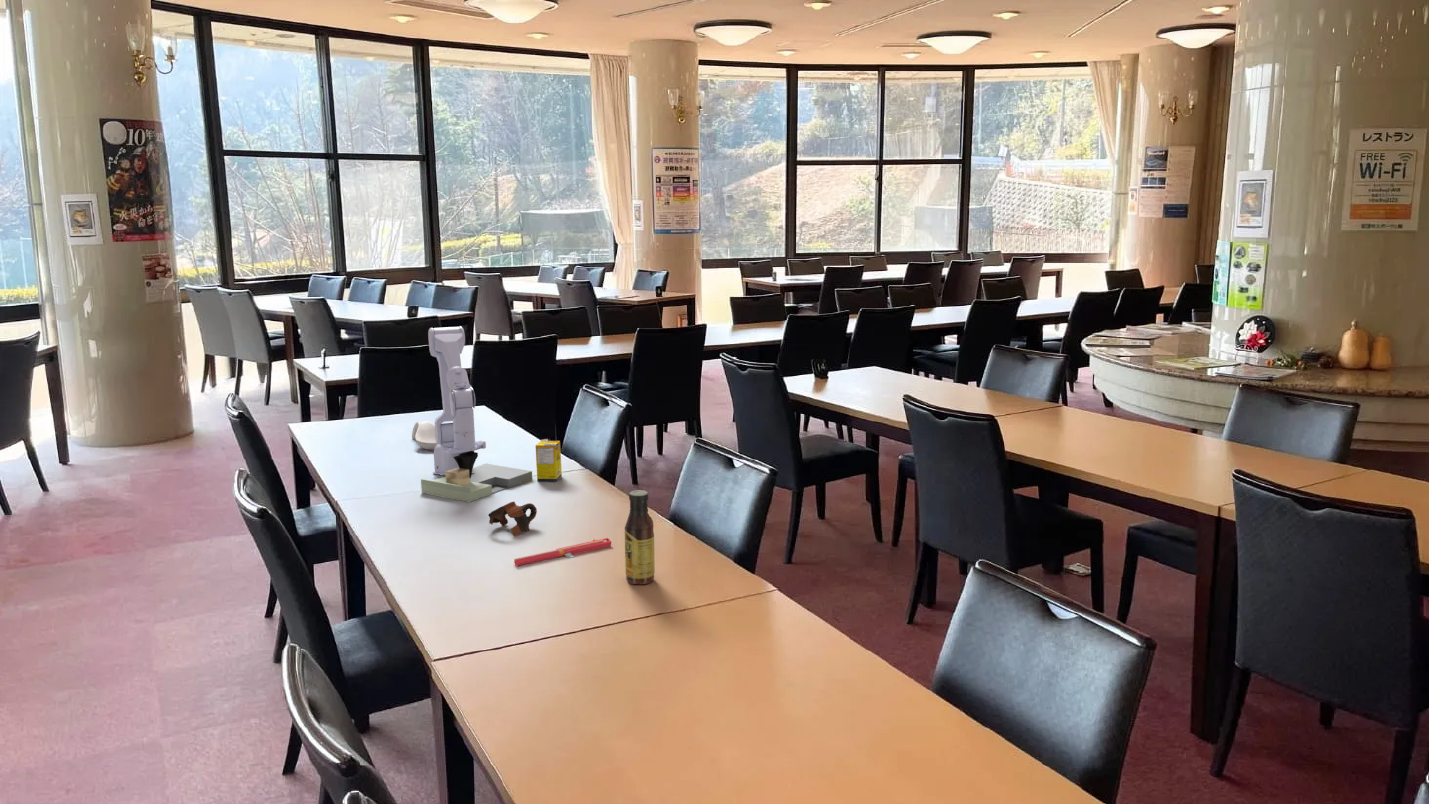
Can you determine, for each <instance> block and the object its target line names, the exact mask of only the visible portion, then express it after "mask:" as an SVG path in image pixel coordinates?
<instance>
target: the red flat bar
mask: <svg viewBox="0 0 1429 804" xmlns="http://www.w3.org/2000/svg"><path fill="white" fill-rule="evenodd" d="M611 546H612V541H611V540H610V538H608V537H605V538H602V539H600V538H599V539H594V538H593V540H592V541H591V540H590V541H587V542H582V543H578V544H573V545H569V546H564V547H559V548H555V549H553V550H549V551H545V552H538V553H535V554H530V555H526V556H521V557H517V558H513V559H514V562H513V563H514V565H515V566H516V567H518V566H524V565H528V564H532V563H538V562H542V561H546V560H551V559H555V558H559V557H563V556H565V557H566V558H571V559H572V558H575V556H574V555H576V554H581V553H586V552H589V551H594V550H599V549H604V548H608V547H611Z"/></svg>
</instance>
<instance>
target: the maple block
mask: <svg viewBox="0 0 1429 804" xmlns="http://www.w3.org/2000/svg"><path fill="white" fill-rule="evenodd" d="M445 477H446V483H450V484H456V485H461V486H464V485H467V484H470V478H469V470H467V469H461V468H455V469H452V470H449V471H446V476H445Z"/></svg>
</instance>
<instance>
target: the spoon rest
mask: <svg viewBox="0 0 1429 804" xmlns="http://www.w3.org/2000/svg"><path fill="white" fill-rule="evenodd" d="M415 422H416V423H414V425H413V428H412V433H411V439H415V442H416V443H417V445H418V446H420V448H423V449H425V450H427V451H430V450H432V451H434V449H435V447H436V446H437V445H438V443H437V442H436V438H435V423H434V424H433V423H432V422H430V421H428V420H424V421H415Z"/></svg>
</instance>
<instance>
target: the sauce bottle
mask: <svg viewBox="0 0 1429 804" xmlns="http://www.w3.org/2000/svg"><path fill="white" fill-rule="evenodd" d="M628 499H629V513H628V516H627V520H626V524H625V525H624V555H625V556H624V558H625V561H624V562H625V564H624V565H625V566H624V567H625V574H626V576H625V579H626V581H627V582H629V583H630V584H631V585H647V584H650V583H652V582H653V581H654V578H655V574H656V573H655V532H654V521H653V519H652V517H651V516H650V514H649V513H648V512H649V508H648V507H649V506H648V504H649V503H648V501H649V492H648V491H647V490H644V489H636V490H632V491H630V492H629V494H628Z"/></svg>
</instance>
